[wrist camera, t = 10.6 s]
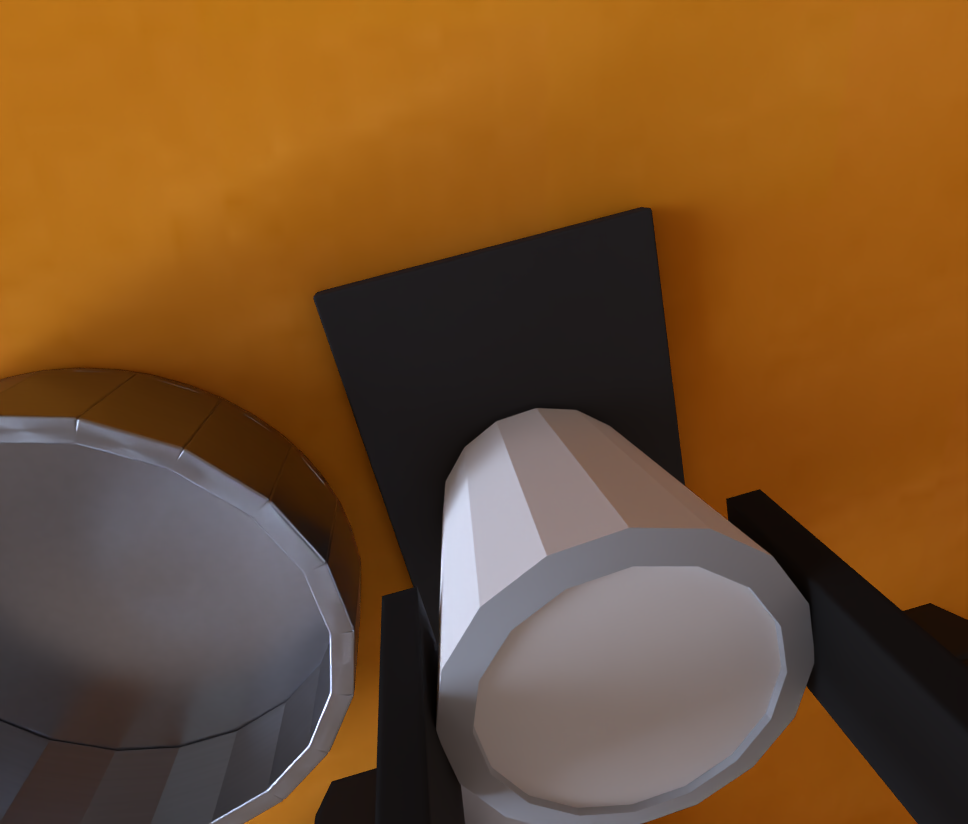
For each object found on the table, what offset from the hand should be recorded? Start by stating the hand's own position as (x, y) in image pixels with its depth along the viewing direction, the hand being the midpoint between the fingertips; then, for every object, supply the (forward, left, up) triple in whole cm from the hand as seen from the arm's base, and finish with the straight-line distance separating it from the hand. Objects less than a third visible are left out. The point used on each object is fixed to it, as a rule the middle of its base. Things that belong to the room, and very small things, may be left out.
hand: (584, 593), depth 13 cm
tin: (-12, 0, -5) cm, 13 cm away
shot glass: (0, 0, -4) cm, 4 cm away
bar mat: (0, 0, -5) cm, 5 cm away
